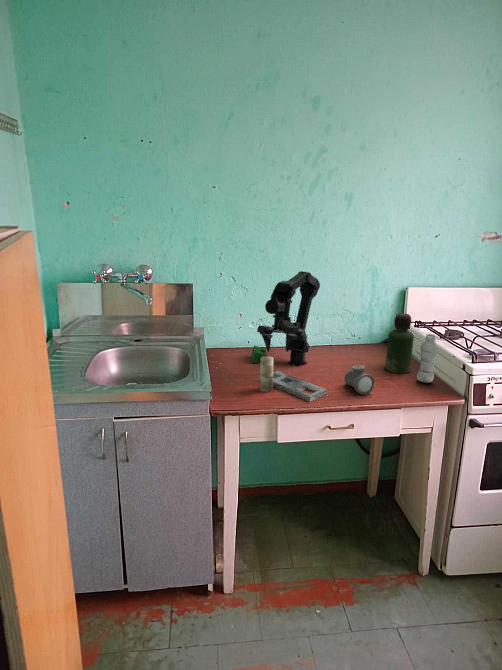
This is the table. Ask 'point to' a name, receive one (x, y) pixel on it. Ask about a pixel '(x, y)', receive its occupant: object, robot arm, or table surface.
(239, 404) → the table surface
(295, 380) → the grey slotted plate
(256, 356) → the clamp
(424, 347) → the plastic bottle
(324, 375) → the table surface
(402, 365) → the green bottle
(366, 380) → the pipe fitting
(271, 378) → the pin
